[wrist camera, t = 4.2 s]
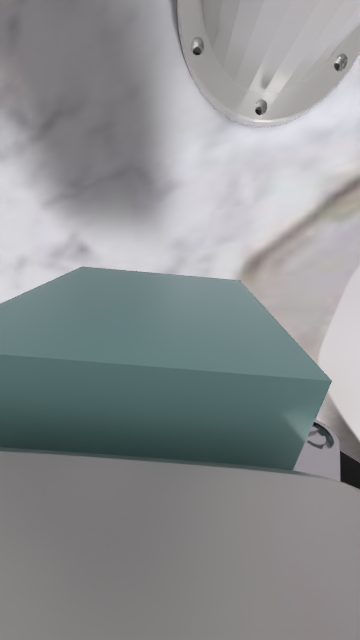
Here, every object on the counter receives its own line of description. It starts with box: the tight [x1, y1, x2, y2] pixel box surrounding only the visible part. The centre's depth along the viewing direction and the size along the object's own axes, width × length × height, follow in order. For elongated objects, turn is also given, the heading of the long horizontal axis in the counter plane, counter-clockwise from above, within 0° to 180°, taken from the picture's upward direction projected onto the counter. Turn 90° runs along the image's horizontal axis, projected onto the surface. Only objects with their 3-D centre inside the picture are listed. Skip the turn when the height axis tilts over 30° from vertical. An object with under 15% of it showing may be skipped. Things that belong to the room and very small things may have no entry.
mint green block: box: [0, 267, 332, 470], centre depth 9 cm, size 8×8×8 cm
